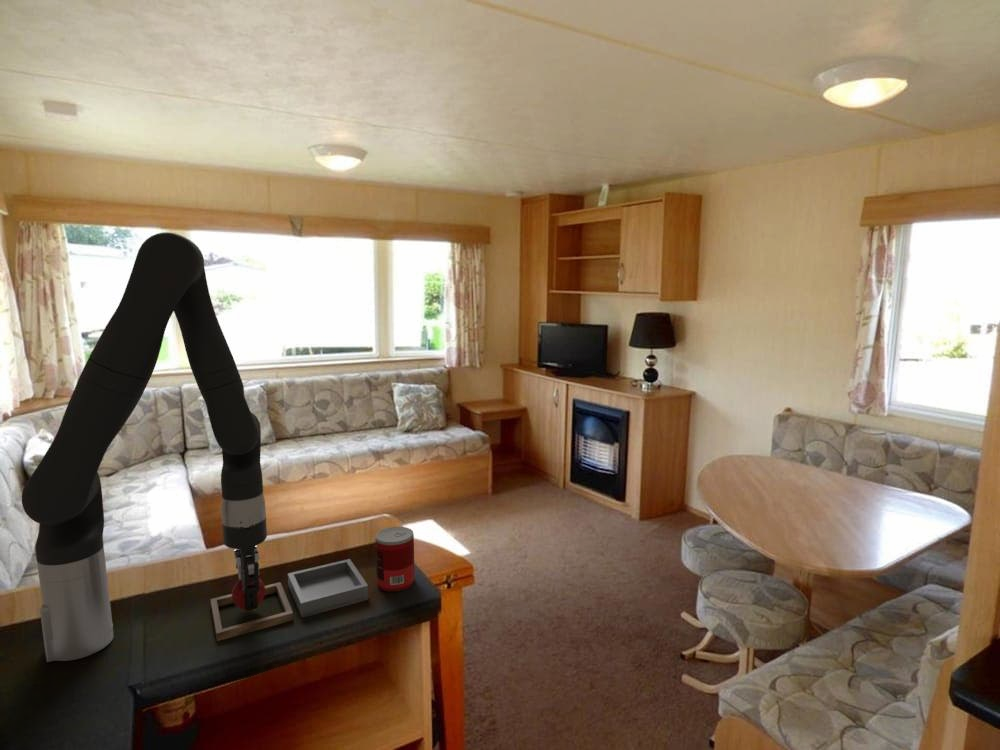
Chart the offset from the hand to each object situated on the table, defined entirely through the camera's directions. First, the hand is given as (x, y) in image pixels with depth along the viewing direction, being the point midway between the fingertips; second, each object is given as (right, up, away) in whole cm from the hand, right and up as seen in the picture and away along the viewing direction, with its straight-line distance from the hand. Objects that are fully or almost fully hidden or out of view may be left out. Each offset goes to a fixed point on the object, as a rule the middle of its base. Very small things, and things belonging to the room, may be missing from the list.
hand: (249, 600), depth 112 cm
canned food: (+26, -1, +12) cm, 29 cm away
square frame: (0, -3, +1) cm, 3 cm away
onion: (0, -2, 0) cm, 2 cm away
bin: (+13, -1, +8) cm, 15 cm away
